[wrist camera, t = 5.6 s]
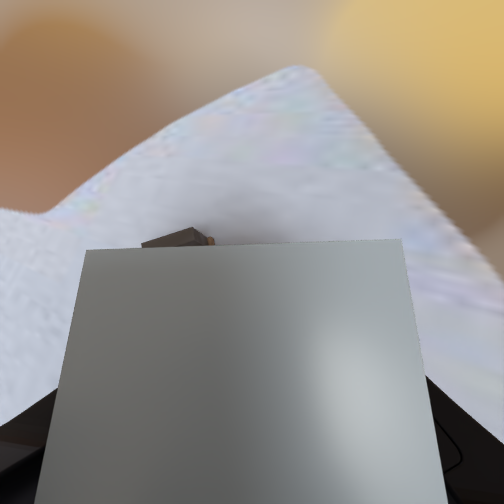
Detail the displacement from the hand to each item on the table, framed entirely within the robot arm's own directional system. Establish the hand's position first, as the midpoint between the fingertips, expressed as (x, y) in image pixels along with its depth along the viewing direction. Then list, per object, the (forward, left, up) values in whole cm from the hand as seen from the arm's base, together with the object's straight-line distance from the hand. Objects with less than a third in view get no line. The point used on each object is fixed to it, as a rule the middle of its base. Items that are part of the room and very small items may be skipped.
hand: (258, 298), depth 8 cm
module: (-1, -1, -7) cm, 7 cm away
